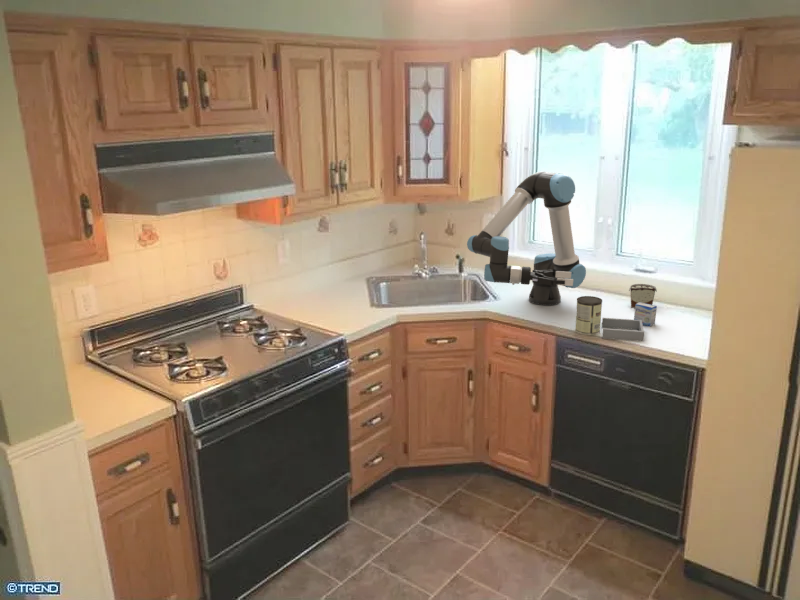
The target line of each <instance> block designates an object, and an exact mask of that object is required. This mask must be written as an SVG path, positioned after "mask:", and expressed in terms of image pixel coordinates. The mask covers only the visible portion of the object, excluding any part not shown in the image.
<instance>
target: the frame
mask: <svg viewBox="0 0 800 600" xmlns="http://www.w3.org/2000/svg"><path fill="white" fill-rule="evenodd" d="M601 321H602V322H601V328H602V335H601V337H602V339H607V340H608V339H609V340H620V341H622V340H623V341H637V342H644V337H645V330H644V325H643V324H642V320H634V319H629V318H628V319H627V318H617V317H616V318H614V317H601Z"/></svg>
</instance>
